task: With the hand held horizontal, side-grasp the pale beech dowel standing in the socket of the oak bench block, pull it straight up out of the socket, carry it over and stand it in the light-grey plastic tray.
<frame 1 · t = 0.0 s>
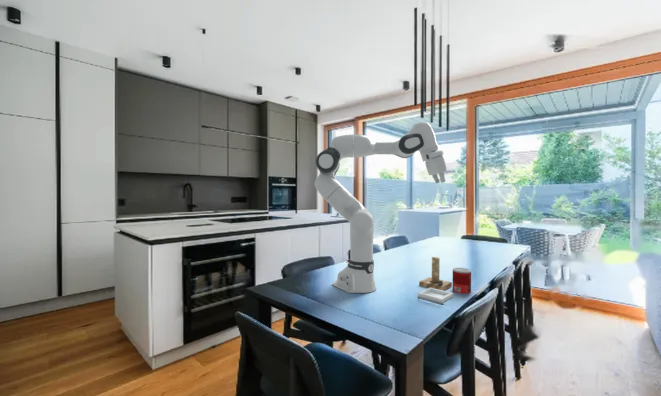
hand: (440, 182, 142), 52 cm above the table, tool tilted 20°, fingers open, 8 cm apart
canned food: (461, 293, 141), on the table
dowel: (435, 285, 148), point 1 cm above the table, touching socket block
socket block: (435, 287, 148), on the table
tray: (435, 298, 133), on the table
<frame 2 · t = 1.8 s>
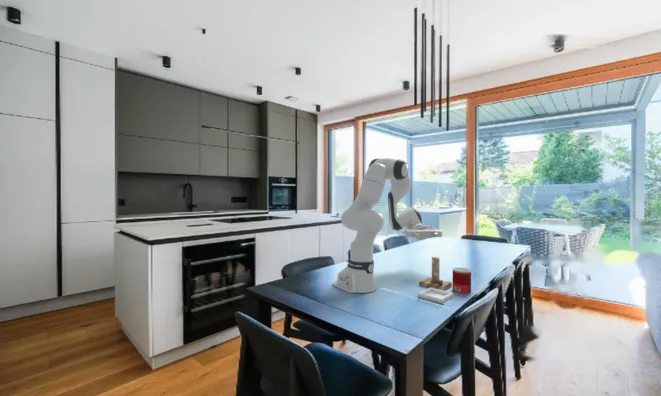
hand: (427, 235, 159), 24 cm above the table, tool horizontal, fingers open, 8 cm apart
nothing on the table moved.
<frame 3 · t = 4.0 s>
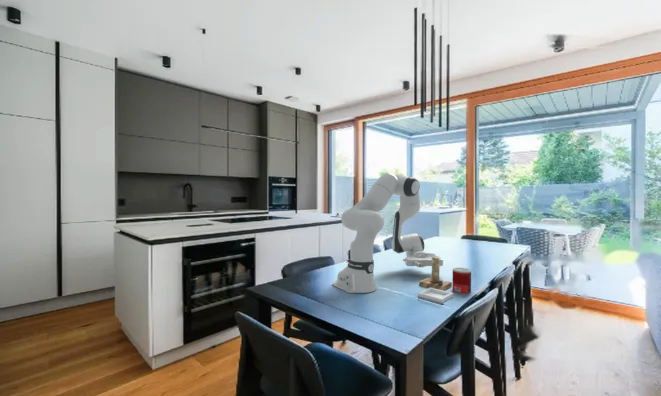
hand: (428, 265, 157), 9 cm above the table, tool horizontal, fingers open, 8 cm apart
nothing on the table moved.
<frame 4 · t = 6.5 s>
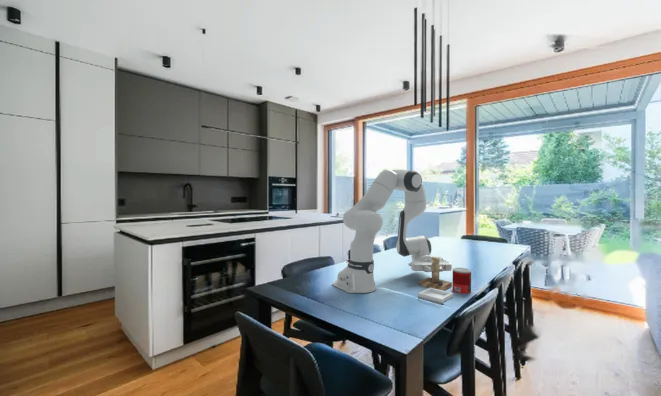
hand: (436, 270, 147), 9 cm above the table, tool horizontal, fingers closed on dowel, 4 cm apart
dowel: (435, 285, 148), point 1 cm above the table, touching gripper, socket block
everything else where it was.
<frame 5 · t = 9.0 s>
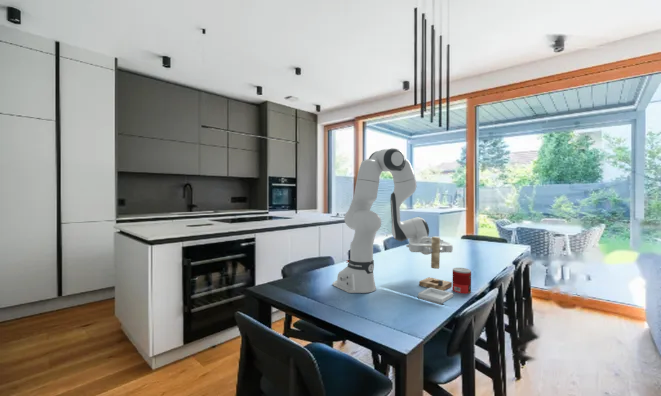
hand: (436, 250, 137), 21 cm above the table, tool horizontal, fingers closed on dowel, 4 cm apart
dowel: (435, 267, 138), point 13 cm above the table, touching gripper
everything else where it was.
when the fingers open (10 cm above the table, at t = 11.8 s): dowel stays where it is, resting on tray.
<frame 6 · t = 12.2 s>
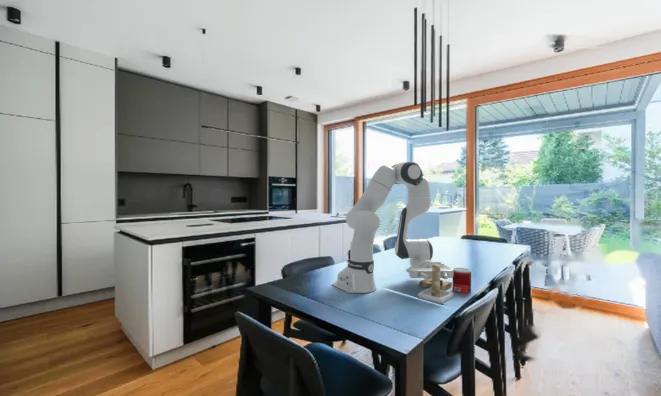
hand: (436, 277, 132), 10 cm above the table, tool horizontal, fingers open, 7 cm apart
dowel: (435, 296, 133), point 1 cm above the table, touching tray
everything else where it was.
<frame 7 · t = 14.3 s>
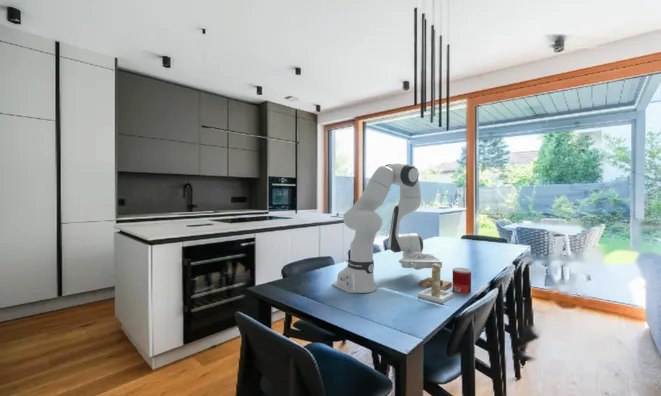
hand: (426, 267, 145), 11 cm above the table, tool horizontal, fingers open, 8 cm apart
nothing on the table moved.
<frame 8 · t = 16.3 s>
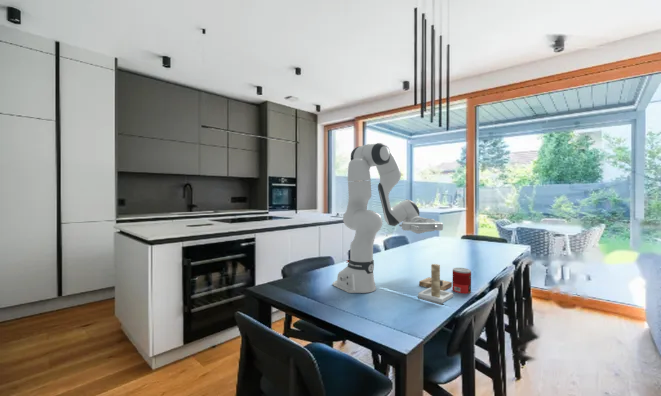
hand: (426, 228, 144), 30 cm above the table, tool horizontal, fingers open, 8 cm apart
nothing on the table moved.
at the end: dowel inside the target area on the tray (0.0 cm from its centre), point 1.0 cm above the tray's base; dowel tilted 1°; the gripper is holding nothing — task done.
